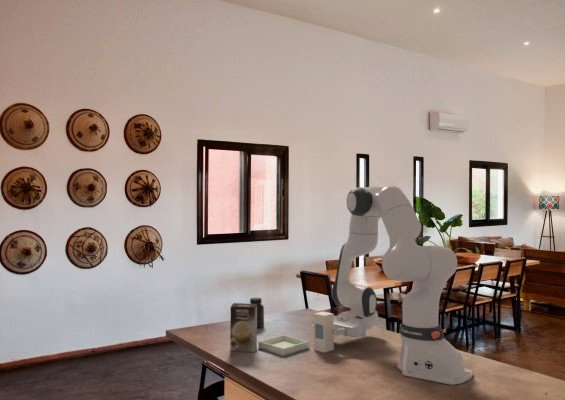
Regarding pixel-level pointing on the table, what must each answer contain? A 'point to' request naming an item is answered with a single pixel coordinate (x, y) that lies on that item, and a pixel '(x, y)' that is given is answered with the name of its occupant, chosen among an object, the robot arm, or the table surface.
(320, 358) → the table surface
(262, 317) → the supplement bottle
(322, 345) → the box
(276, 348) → the tray
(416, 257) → the robot arm
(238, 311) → the coffee box
